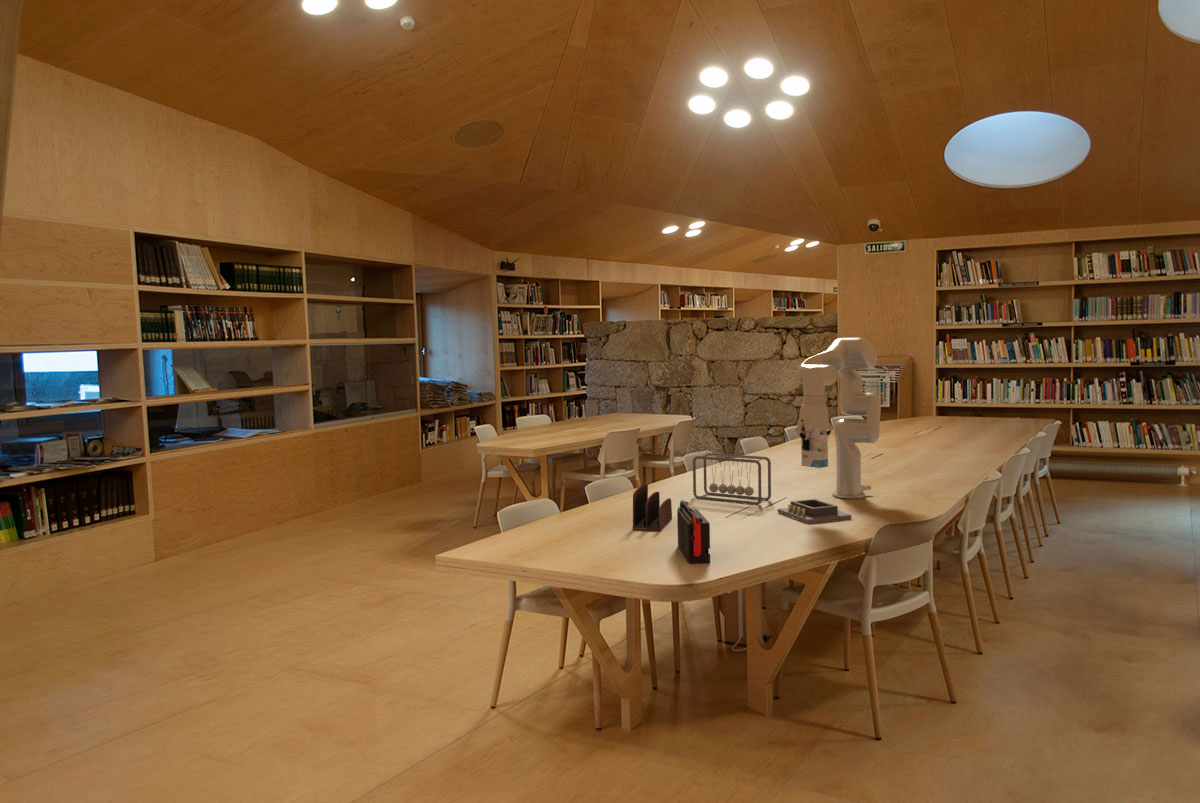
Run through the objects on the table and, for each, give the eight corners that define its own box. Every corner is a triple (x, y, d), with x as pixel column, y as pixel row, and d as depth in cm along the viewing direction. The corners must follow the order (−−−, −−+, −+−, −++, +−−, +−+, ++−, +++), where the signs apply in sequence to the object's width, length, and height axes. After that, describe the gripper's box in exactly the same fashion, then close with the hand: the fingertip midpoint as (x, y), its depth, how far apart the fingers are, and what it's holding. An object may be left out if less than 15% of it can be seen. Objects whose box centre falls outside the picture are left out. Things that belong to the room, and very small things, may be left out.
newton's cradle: (692, 498, 334) (692, 455, 333) (704, 494, 343) (704, 452, 342) (760, 505, 317) (760, 460, 316) (771, 500, 326) (771, 457, 324)
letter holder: (632, 530, 282) (631, 490, 280) (646, 518, 300) (645, 480, 299) (660, 532, 279) (659, 491, 278) (672, 519, 298) (671, 481, 296)
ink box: (828, 466, 293) (828, 426, 292) (820, 468, 290) (820, 427, 289) (809, 464, 300) (808, 424, 299) (800, 465, 297) (800, 425, 296)
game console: (675, 543, 262) (675, 499, 261) (695, 543, 262) (694, 498, 261) (691, 568, 234) (690, 518, 233) (713, 567, 234) (712, 517, 233)
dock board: (819, 508, 309) (819, 496, 308) (851, 518, 290) (851, 506, 290) (777, 512, 303) (777, 500, 303) (807, 523, 284) (807, 511, 284)
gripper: (828, 398, 300) (828, 446, 301) (787, 401, 294) (788, 450, 295) (840, 400, 292) (840, 449, 294) (799, 402, 287) (799, 452, 288)
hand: (814, 449), depth 295 cm, fingers closed on ink box, 6 cm apart
